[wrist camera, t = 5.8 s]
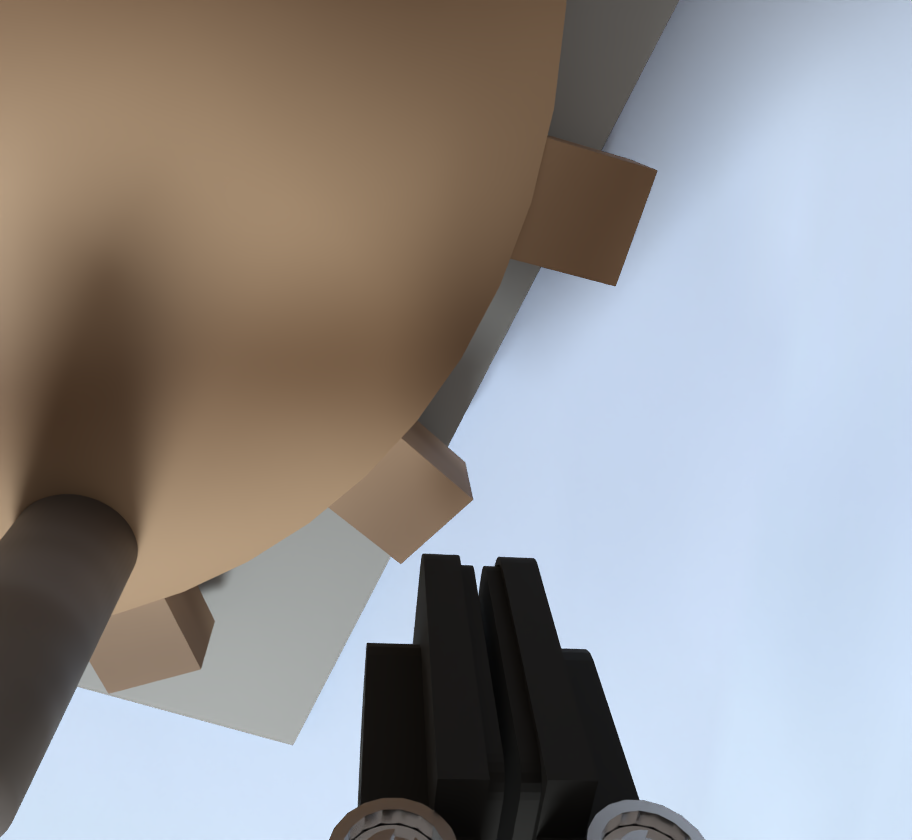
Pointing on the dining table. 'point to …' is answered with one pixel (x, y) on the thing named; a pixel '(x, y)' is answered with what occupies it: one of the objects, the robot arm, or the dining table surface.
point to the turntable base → (328, 535)
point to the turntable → (249, 297)
